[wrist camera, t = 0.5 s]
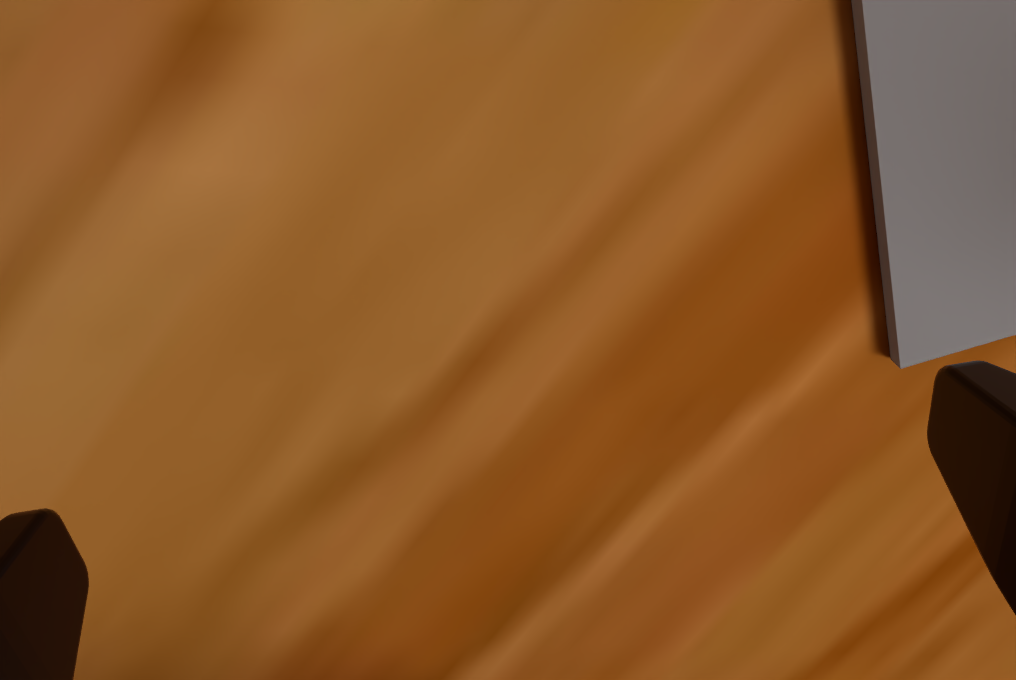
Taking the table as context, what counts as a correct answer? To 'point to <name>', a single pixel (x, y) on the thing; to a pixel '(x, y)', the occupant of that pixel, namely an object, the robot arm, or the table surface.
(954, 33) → the mat
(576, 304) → the table surface
